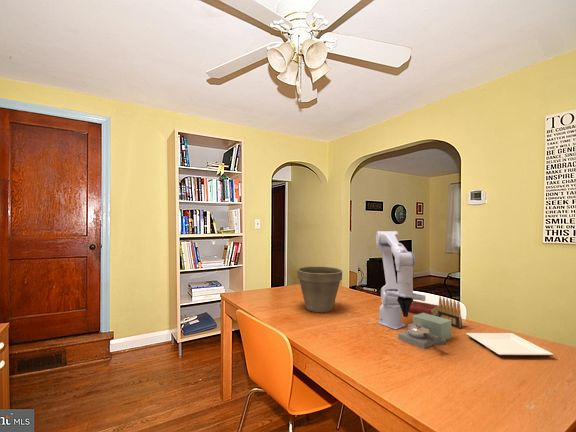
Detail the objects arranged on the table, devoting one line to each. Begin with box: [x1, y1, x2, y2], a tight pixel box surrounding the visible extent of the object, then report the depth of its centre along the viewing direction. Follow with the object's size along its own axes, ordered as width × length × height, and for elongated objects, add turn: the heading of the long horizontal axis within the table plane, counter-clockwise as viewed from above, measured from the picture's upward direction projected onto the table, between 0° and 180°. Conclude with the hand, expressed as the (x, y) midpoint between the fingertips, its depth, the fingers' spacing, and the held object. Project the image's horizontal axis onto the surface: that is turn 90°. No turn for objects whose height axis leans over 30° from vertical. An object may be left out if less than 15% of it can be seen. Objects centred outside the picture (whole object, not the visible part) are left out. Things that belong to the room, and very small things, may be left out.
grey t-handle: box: [407, 322, 447, 346], centre depth 108 cm, size 16×8×4 cm, turn 11°
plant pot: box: [296, 266, 343, 313], centre depth 155 cm, size 25×25×22 cm
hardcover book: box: [408, 300, 439, 316], centre depth 150 cm, size 12×21×4 cm, turn 44°
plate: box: [465, 332, 555, 357], centre depth 105 cm, size 19×19×2 cm
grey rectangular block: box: [397, 313, 453, 350], centre depth 114 cm, size 12×19×7 cm, turn 124°
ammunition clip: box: [437, 295, 463, 330], centre depth 129 cm, size 11×2×12 cm, turn 25°
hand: (405, 316), depth 112 cm, fingers closed
